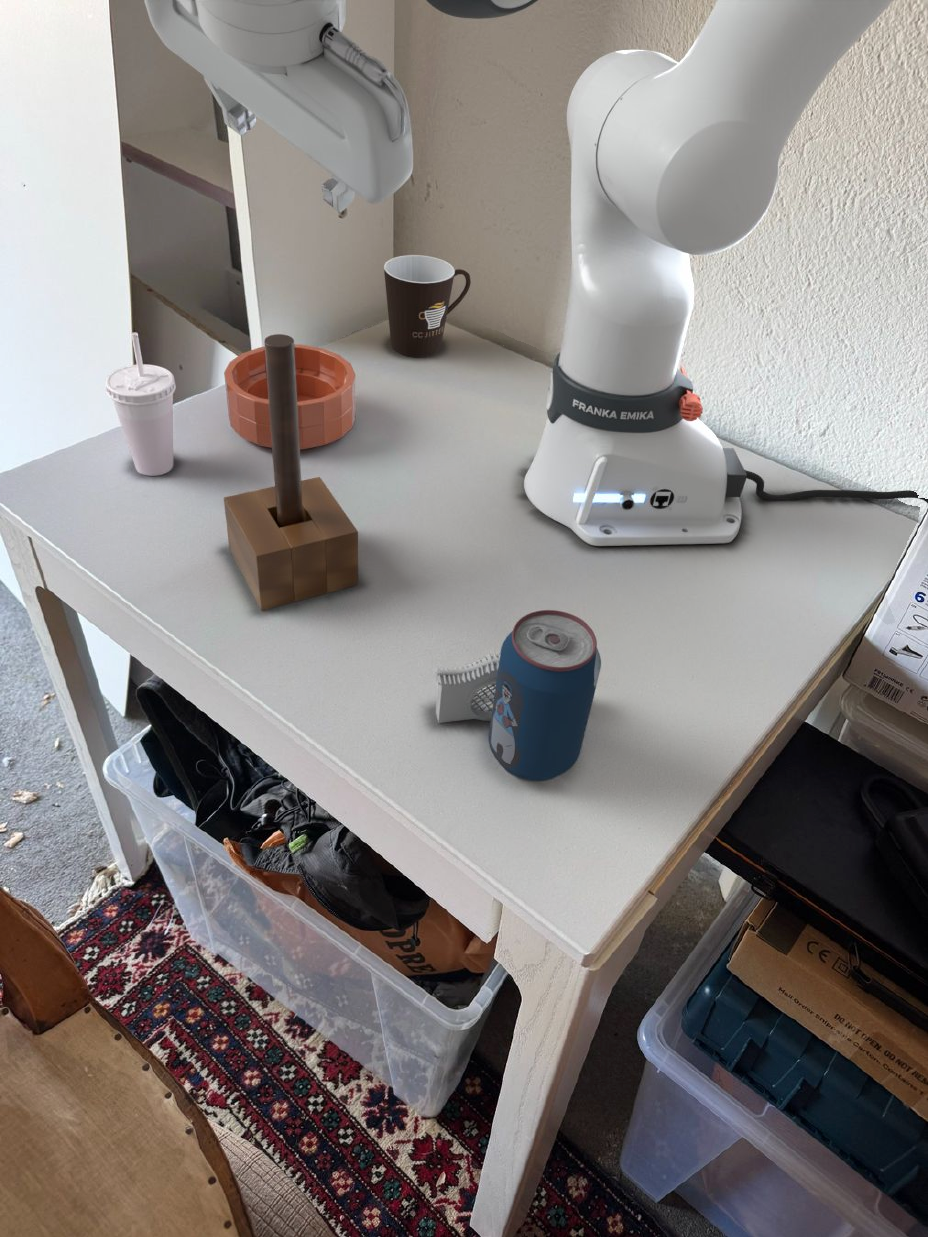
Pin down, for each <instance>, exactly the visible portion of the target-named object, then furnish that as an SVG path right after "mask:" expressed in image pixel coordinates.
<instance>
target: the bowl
mask: <svg viewBox="0 0 928 1237" xmlns="http://www.w3.org/2000/svg"><path fill="white" fill-rule="evenodd" d="M294 349H295V369H296V389H297V409H298V429H299V449H300V450H306V449H311V448H318V447H322V446H326V445H328V444H330V443H332V442H335V441H338V440H340V439H341V438H343V437H344V436H345V435H346V434H347V433H349V431H350V430H351V429H353V426H354V423H355V420H356V412H357V411H356V408H357V407H356V373H355V371H354V368H353V366H352V364H351V362H350V361H348V360H347V359H345V358H344V357H343V356H341V354H339V353H336V352H334V351H330V350H328V349H326V348H322V347H318V346H312V345H306V344H297V343H294ZM223 376H224V382H225V386H224V387H225V393H226V394H225V395H226V403H227V412H228V413H227V414H228V418H229V425H230V427H231V428H232V429H233V430H234V431H235V432H236V433H237V434H238V435H239V436H240V437H241V438H242V439H244V440H246V441H248V442H251V443H253V444H255V445H258V446H262V447H266V448H271V449H272V440H271V426H270V412H269V399H268V385H267V371H266V357H265V346H260V347H257V348H254V349H250V350H248V351H245V352H243V353H241V354H239V355H238V356H237V357H235V358H233V359H232V360H231V361H229V362H228V364H227V367H226V368H225V369H224V372H223Z"/></svg>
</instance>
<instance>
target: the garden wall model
mask: <svg viewBox="0 0 928 1237" xmlns="http://www.w3.org/2000/svg"><path fill="white" fill-rule="evenodd" d="M500 654H501V653H498V655H497V654H496V653H493V654H492V655H491V654H490V653H488V654H487V656H483V658H477V661H476V660H474V661H473V663H471V662H470V663H469V665H467V664H464V666H462V665H459V668H457V667H454V668H453V667H449V668H448V667H445V668H444V667H440V669H439V668H438V667H436V668H435V669H434V674H435V678H436V681H437V682H436V683H437V692H436V703H435V704H436V705H435V715H436V718H437V723H438V724H440V723H449V722H458V721H465V720H466V721H467V720H478V721H479V720H480V721H483V722H486V721H487V722H491V716H492V709H493V702H494V695H495V688H496V681H497V674H498V667H499V661H500ZM478 699H479V700H478ZM486 699H487V700H486Z"/></svg>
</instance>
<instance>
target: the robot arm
mask: <svg viewBox="0 0 928 1237" xmlns="http://www.w3.org/2000/svg"><path fill="white" fill-rule="evenodd" d="M538 1H539V0H426V2H427V3H428V4H429V5H430V6H431V7H433V8H434V9H436V10H437V11H439V12H441V13H443V14H445V15H447V16H451V17H455V18H461V19H476V20H479V19H480V20H482V19H495V18H501V17H507V16H509V15H513V14H515V13H518V12H521V11H523V10H525V9H528V7H531V6H532V5H534V4H535V3H537V2H538ZM143 2H144V5H145V9H146V12H147V14H148V18H149V21H150V24H151V26H152V27H153V28H152V29H154V31H155V32H156V34H157V36H158V37H159V39H160V40H161V42H162V43H163V44H164V46H165V47H166V48H167V49H168V50H170V51H171V52H172V53H174V54H175V55H176V56H178V57H179V58H180V59H182V61H184V62H185V63H186V64H188V65H190V66H191V67H192V68H193V69H195V70H196V71H197V72H199V73H200V74H201V75H202V76H203V80H204V82H205V84H206V85H207V87H208V88H209V90H210V92H211V94H212V95H213V97H214V98H215V100H216V102H217V104H218V106H219V107H220V108H221V111H222V116H223V123H224V124H225V125H226V126H227V127H228V128H229V129H231V130H232V131H234V132H235V133H236V134H238V135H239V136H241V137H243V136H245V135H246V134H247V132H248V131H251V130H252V129H253V128H254V127H255V126H256V124H257V118H258V119H259V120H260V121H262V122H263V123H264V124H266V125H267V126H269V128H271V129H272V130H273V131H275V132H276V133H278V134H279V135H280V136H281V137H283V138H284V139H285V140H287V141H288V142H289V143H291V144H292V145H293V146H294V147H296V148H297V149H298V150H299V151H301V153H303V154H305V155H306V156H307V157H309V158H310V159H311V160H313V161H314V162H315V163H317V164H318V166H320V167H322V168H323V169H324V170H326V171H327V172H328V173H329V174H330V175H331V177H332V178H329V179H327V180H326V181H324V183H322V185H321V191H322V194H323V196H322V200H323V201H324V202H325V203H327V205H329V206H330V207H332V208H333V209H334V210H336V211H337V212H338V213H342V212H344V211H345V209H346V208H348V207H349V206H350V205H352V203H353V201H354V199H355V197H356V194H357V195H358V196H359V197H360V198H362V199H363V200H365V201H366V202H367V203H369V204H372V205H375V204H379V203H381V202H383V201H385V200H387V199H389V198H390V197H391V196H393V195H394V194H395V193H396V192H397V191H398V190H400V188H401V187H402V186H404V184H405V183H406V182H407V181H408V180H409V179H410V177H411V176H412V173H413V169H414V148H413V135H412V134H413V133H412V125H411V124H412V123H411V116H410V110H409V105H408V101H407V97H406V94H405V92H404V89H403V88H402V86H401V84H400V83H399V81H398V80H397V79H396V78H395V76H394V75H393V74H392V73H391V71H390V70H389V68H388V67H387V66H386V65H385V64H384V63H383V62H382V61H381V60H379V59H378V58H377V57H375V56H371V55H370V54H368V53H367V52H366V51H365V50H363V49H362V48H361V47H360V46H359V45H358V44H357V43H356V42H355V41H353V40H352V39H351V38H350V37H348V36H347V35H346V34H344V33H343V30H344V27H345V24H346V20H347V12H348V11H347V10H348V9H347V0H143ZM893 2H894V0H716V2H715V4H714V6H713V8H712V10H711V12H710V14H709V16H708V18H707V19H706V22H705V23H704V25H703V26H702V28H701V30H700V32H699V34H698V35H697V37H696V39H695V40H694V42H693V43H692V45H691V47H690V49H689V50H688V52H687V53H686V54H685V55H684V57H683V58H682V59H681V60H680V61H679V62H678V61H677V60H675V59H673V58H672V57H670V56H669V55H666V54H665V53H661V52H659V51H655V50H649V49H647V50H645V49H625V50H617V51H612V52H609V53H607V54H605V55H603V56H601V57H599V58H597V59H596V60H594V62H593V63H591V64H590V65H589V66H588V67H586V69H585V70H584V71H583V72H582V73H581V75H580V76H579V78H578V79H577V80H576V82H575V84H574V86H573V88H572V91H571V93H570V96H569V99H568V103H567V109H566V129H567V135H568V141H569V147H570V148H569V150H570V174H571V175H570V236H571V237H570V243H571V244H570V246H571V248H570V250H571V254H570V255H571V260H570V262H571V264H570V265H571V266H570V282H569V290H568V297H567V305H566V313H565V319H564V326H563V330H562V331H563V332H562V337H561V338H562V339H561V345H560V351H559V352H558V353H557V355H556V356H555V358H554V361H553V366H552V370H551V372H550V377H549V383H548V388H547V389H548V390H547V396H546V397H547V399H546V406H545V407H546V408H545V409H546V415H547V418H546V422H545V426H544V429H543V432H542V436H541V439H540V442H539V444H538V448H537V450H536V453H535V455H534V458H533V460H532V462H531V465H530V466H529V468H528V470H527V472H526V474H525V476H524V479H523V488H524V489H523V490H524V492H525V495H526V496H527V499H528V500H529V501H530V503H531V504H532V505H533V506H534V507H535V508H536V509H537V510H539V512H541V513H542V514H543V515H545V516H547V517H548V518H550V519H552V520H554V521H555V522H557V523H560V524H561V525H564V526H565V527H567V528H569V529H570V530H571V531H573V533H574V534H576V535H577V536H578V537H579V538H580V539H581V540H582V541H583V542H585V543H586V544H588V545H591V546H595V547H616V546H623V547H624V546H660V545H661V546H662V545H663V546H666V545H667V546H668V545H708V544H709V545H711V544H715V545H716V544H729V543H731V542H732V541H733V540H734V539H735V538H736V537H737V535H738V533H739V531H740V528H741V522H742V514H743V513H742V512H743V511H742V503H741V499H740V498H741V496H742V493H743V490H744V486H745V484H746V481H747V479H748V480H751V481H752V482H754V483H755V484H756V486H755V495H756V496H757V497H759V498H760V499H761V500H764V501H767V502H791V501H800V500H806V499H812V498H834V499H835V498H837V499H839V498H840V499H867V500H868V499H869V500H898V499H917V500H922V501H924V502H925V503H926V504H928V499H925V498H918V496H919V495H917V493H916V492H914V491H915V490H914V491H911V490H893V491H876V490H875V491H874V490H873V491H872V490H854V489H853V490H852V489H851V490H849V489H809V490H803V491H797V492H796V491H795V492H792V493H787V494H773V493H772V494H771V493H768V492H766V491H764V490H765V480H764V479H763V477H761V476H760V475H759V474H758V473H755V472H753V471H750V470H746V469H745V468H744V466H743V464H742V462H741V460H740V459H739V458H740V457H738V454H737V453H736V450H735V449H734V448H733V447H723V446H722V444H721V442H720V440H719V438H718V437H717V435H716V434H715V433H714V432H713V430H711V429H710V427H708V426H707V425H706V424H705V423H703V421H702V420H700V418H701V417H702V414H704V413H703V412H704V411H703V410H704V409H703V405H702V402H701V398H700V396H699V395H697V394H696V393H694V384H693V381H692V380H691V379H690V378H689V377H688V375H687V371H686V370H685V368H684V366H683V365H680V369H678V366H679V363H680V358H681V356H682V355H681V354H682V352H683V347H684V343H685V339H686V336H687V331H688V328H689V323H690V319H691V315H692V311H693V307H694V302H695V287H694V279H693V275H692V271H691V270H692V269H691V262H690V261H691V260H690V255H692V256H710V255H715V254H718V253H722V252H724V251H726V250H729V249H730V248H732V247H734V246H736V245H737V244H739V243H740V242H742V241H743V240H744V239H745V238H747V237H748V236H749V235H750V234H751V233H752V232H753V231H754V230H755V229H756V228H757V226H758V225H759V224H760V223H761V221H762V220H763V219H764V217H765V215H766V213H767V212H768V210H769V209H770V207H771V204H772V202H773V199H774V196H775V193H776V189H777V186H778V179H779V169H780V168H779V167H780V166H779V165H780V160H781V156H782V153H783V151H784V148H785V146H786V143H787V142H788V139H789V138H790V135H791V134H792V132H793V130H794V128H795V126H796V125H797V123H798V121H799V119H800V118H801V116H802V114H803V112H804V111H805V109H806V107H807V105H808V104H809V102H810V101H811V99H812V98H813V96H814V94H816V92H817V90H818V89H819V88H820V86H821V84H822V83H823V81H824V80H825V79H826V77H827V76H828V74H829V73H830V72H831V71H832V70H833V68H834V67H835V66H836V65H837V64H838V62H839V61H840V60H841V59H842V57H843V56H845V54H846V53H847V52H848V51H849V50H850V49H851V48H852V46H854V44H855V43H856V42H857V41H858V40H859V39H860V37H862V36H863V34H864V33H866V31H867V30H868V29H869V28H870V27H871V25H872V24H874V22H875V21H876V20H877V19H878V18H879V17H880V16H881V15H882V14H883V13H884V12H885V10H886V9H887V8H888V7H889V6H890V5H891V4H892V3H893Z"/></svg>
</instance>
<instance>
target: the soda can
mask: <svg viewBox="0 0 928 1237" xmlns="http://www.w3.org/2000/svg"><path fill="white" fill-rule="evenodd" d="M597 641H598V640H597V637H596V635H595V632H594V631H593V629H592V628H591V627H590V625H589V624H588V623H587V622H585V621H584V620H583V619H581V618H580V617H578V616H576V615H574V614H571V613H568V612H566V611H561V610H556V609H555V610H553V609H542V610H535V611H533V612H530V613H527V614H525V615H523V616H522V617H521V618H519V619H518V620H517V622H516V623H515V624H514V626H513V628H512V631H511V632H509V633H508V634H507V635H506V636H505V639H504V640H503V642H502V645H501V647H500V653H499V654H500V661H499V667H498V674H497V681H496V685H495V686H496V688H495V689H494V691H495V695H493V696H494V699H493V701H494V702H493V709H492V716H491V721H489V728H488V729H489V731H488V745H489V749H490V751H491V754H492V756H493V757H494V759H495V760H496V761H497V762H498V763H499V766H501V767H502V768H503V769H504V770H505V771H506V772H507V773H508V774H510V775H511V776H513V777H515V778H517V779H519V780H522V781H526V782H533V783H542V782H546V781H551V780H553V779H555V778H558V777H559V776H562V775H563V774H565V773H566V772H568V771H569V770H570V769H571V768H573V767H574V765H575V764H576V763H577V761H578V759H579V758H580V754H581V751H582V747H583V742H584V738H585V734H586V731H587V726H588V722H589V718H590V715H591V714H590V713H591V710H592V706H593V703H594V702H593V701H594V698H595V693H596V689H597V685H598V682H599V677H600V673H601V669H602V657H601V655H600V652H599V649H598V642H597Z"/></svg>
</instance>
